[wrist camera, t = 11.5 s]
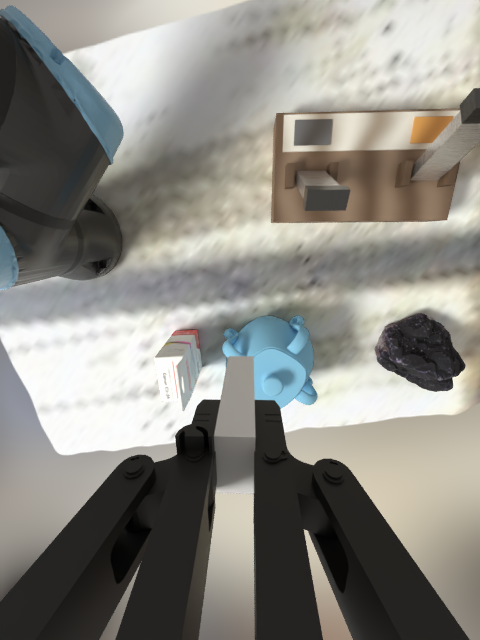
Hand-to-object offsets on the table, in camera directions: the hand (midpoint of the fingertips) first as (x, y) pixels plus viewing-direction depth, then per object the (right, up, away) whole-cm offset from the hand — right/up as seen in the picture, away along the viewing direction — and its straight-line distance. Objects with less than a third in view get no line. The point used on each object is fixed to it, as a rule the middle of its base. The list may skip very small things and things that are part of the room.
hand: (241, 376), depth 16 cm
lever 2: (+26, +24, +21) cm, 41 cm away
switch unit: (+18, +27, +27) cm, 42 cm away
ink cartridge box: (-11, -3, +38) cm, 39 cm away
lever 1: (+10, +24, +22) cm, 34 cm away
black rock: (+33, -1, +36) cm, 49 cm away
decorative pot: (+5, -3, +37) cm, 38 cm away
